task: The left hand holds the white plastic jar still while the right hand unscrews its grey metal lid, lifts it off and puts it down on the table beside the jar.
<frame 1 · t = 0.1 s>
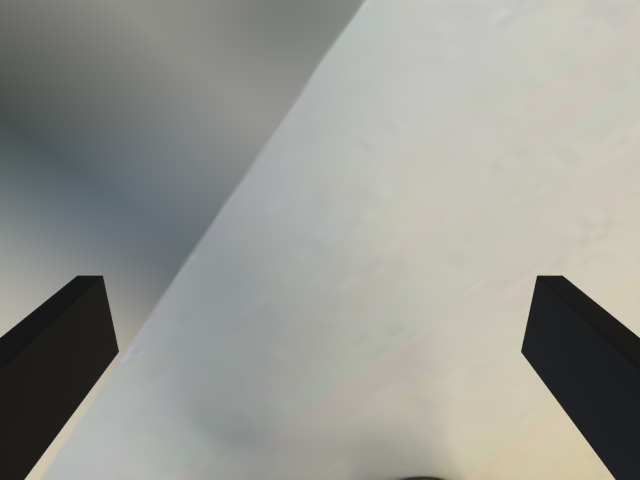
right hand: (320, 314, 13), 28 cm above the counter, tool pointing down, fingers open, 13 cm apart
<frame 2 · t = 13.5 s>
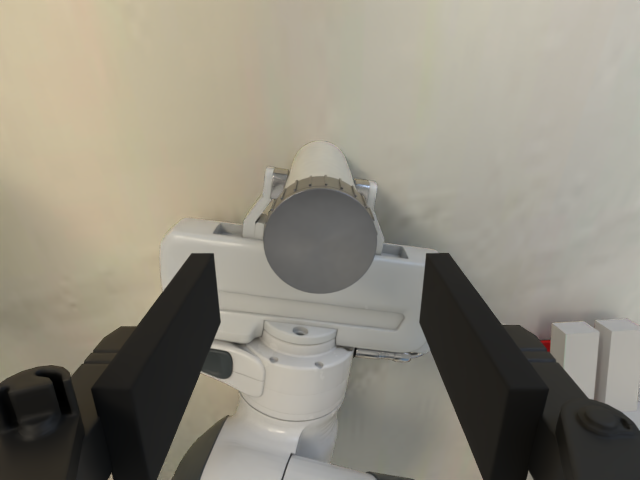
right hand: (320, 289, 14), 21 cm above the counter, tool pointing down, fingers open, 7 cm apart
left hand: (321, 175, 27), fingers closed on jar, 4 cm apart
jar: (319, 168, 34), on the counter, touching left hand
toy: (547, 426, 44), on the counter
lid: (320, 241, 19), point 16 cm above the counter, screwed on, not yet turned
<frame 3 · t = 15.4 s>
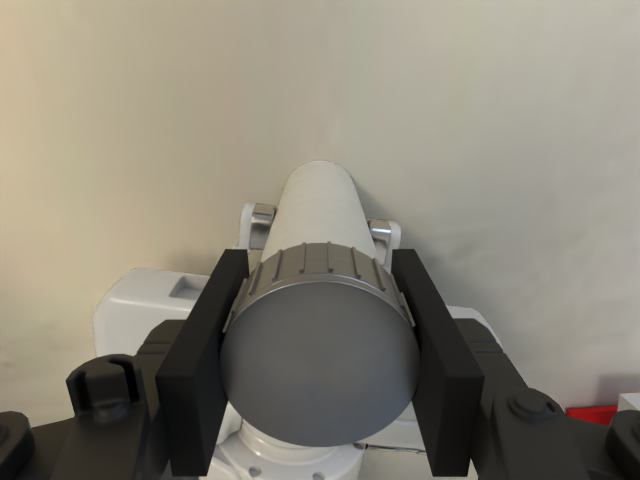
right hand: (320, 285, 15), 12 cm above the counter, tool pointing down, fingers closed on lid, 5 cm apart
jar: (319, 196, 26), on the counter, touching left hand
lid: (319, 362, 11), point 16 cm above the counter, screwed on, not yet turned, touching right hand
when the right hand's fingers open (12 cm above the counter, at t = 16.9 s): lid stays where it is, point 16 cm above the counter.
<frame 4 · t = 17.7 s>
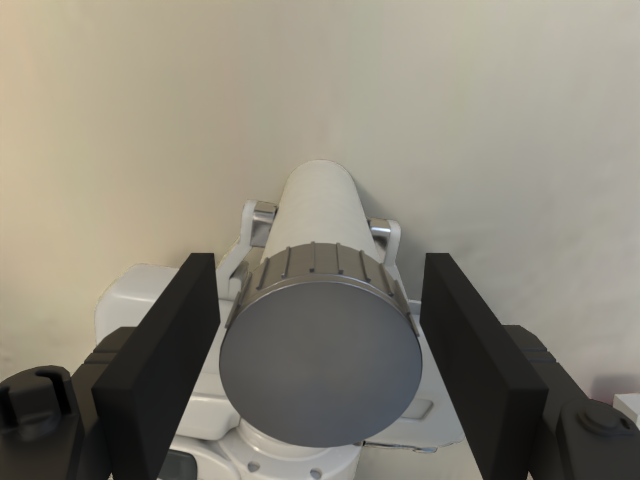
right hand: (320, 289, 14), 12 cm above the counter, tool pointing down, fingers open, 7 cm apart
jar: (320, 195, 26), on the counter, touching left hand
lid: (320, 363, 11), point 16 cm above the counter, turned 89° so far, risen 0.2 cm, still on its thread
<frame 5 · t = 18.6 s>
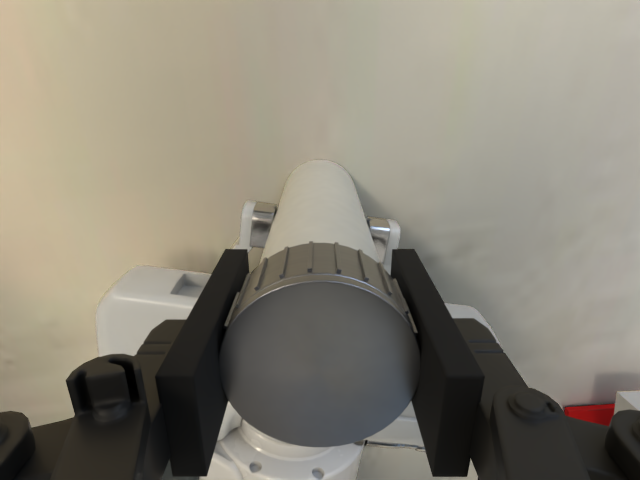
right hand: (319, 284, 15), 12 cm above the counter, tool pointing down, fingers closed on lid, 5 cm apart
jar: (319, 195, 26), on the counter, touching left hand
lid: (319, 362, 11), point 16 cm above the counter, turned 89° so far, risen 0.2 cm, still on its thread, touching right hand
when the right hand's fingers open (0 cm above the counter, at t = 23.8 s): lid drops 2 cm, point 2 cm above the counter.
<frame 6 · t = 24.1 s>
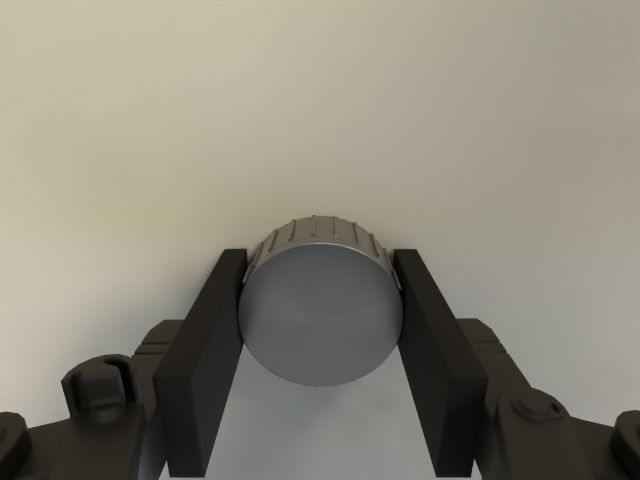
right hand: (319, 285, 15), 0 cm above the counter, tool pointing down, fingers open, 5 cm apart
lid: (320, 313, 13), point 2 cm above the counter, off its thread, touching right hand
when the left hand's fingers open (7 cm above the counter, at t = 25.3 s): jar stays where it is, on the counter.
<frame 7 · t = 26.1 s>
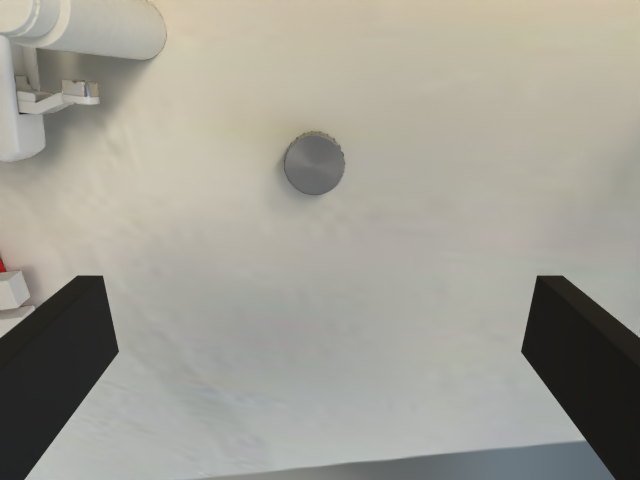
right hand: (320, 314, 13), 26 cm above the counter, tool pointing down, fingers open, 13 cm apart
jar: (138, 29, 33), on the counter
lid: (314, 165, 35), point 2 cm above the counter, off its thread
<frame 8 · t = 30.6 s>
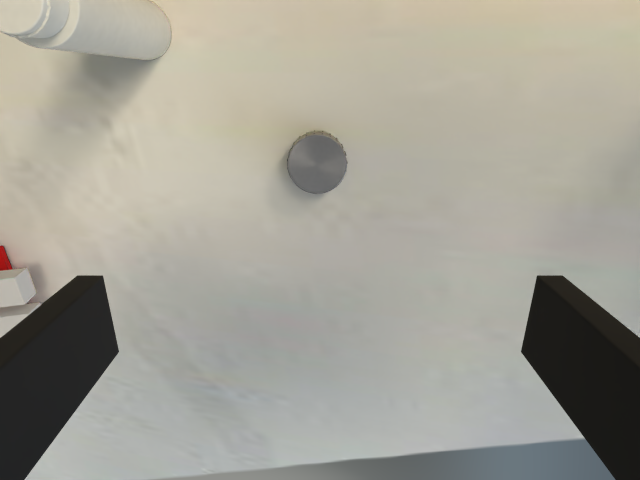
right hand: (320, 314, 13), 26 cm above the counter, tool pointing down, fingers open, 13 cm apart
jar: (143, 30, 34), on the counter
lid: (317, 164, 36), point 2 cm above the counter, off its thread
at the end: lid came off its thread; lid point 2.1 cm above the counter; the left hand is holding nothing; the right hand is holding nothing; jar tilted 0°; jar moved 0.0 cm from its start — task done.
